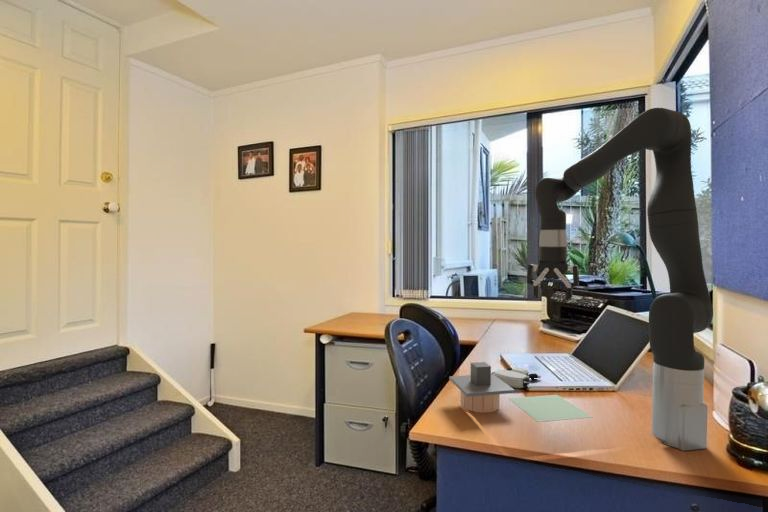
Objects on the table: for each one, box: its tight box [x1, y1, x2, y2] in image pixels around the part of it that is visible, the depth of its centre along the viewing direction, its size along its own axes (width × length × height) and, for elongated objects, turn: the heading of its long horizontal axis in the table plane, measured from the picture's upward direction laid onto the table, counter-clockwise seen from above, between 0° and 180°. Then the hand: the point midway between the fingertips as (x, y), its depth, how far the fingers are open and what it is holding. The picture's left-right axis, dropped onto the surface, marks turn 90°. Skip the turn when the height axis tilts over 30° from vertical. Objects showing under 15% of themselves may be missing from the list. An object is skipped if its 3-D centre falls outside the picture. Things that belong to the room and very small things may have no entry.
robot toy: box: [491, 367, 542, 389], centre depth 128 cm, size 12×4×15 cm
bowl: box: [460, 390, 501, 414], centre depth 110 cm, size 10×10×6 cm
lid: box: [448, 361, 516, 397], centre depth 110 cm, size 13×13×6 cm
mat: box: [508, 394, 593, 423], centre depth 108 cm, size 15×15×1 cm
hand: (552, 299), depth 122 cm, fingers open, 8 cm apart
